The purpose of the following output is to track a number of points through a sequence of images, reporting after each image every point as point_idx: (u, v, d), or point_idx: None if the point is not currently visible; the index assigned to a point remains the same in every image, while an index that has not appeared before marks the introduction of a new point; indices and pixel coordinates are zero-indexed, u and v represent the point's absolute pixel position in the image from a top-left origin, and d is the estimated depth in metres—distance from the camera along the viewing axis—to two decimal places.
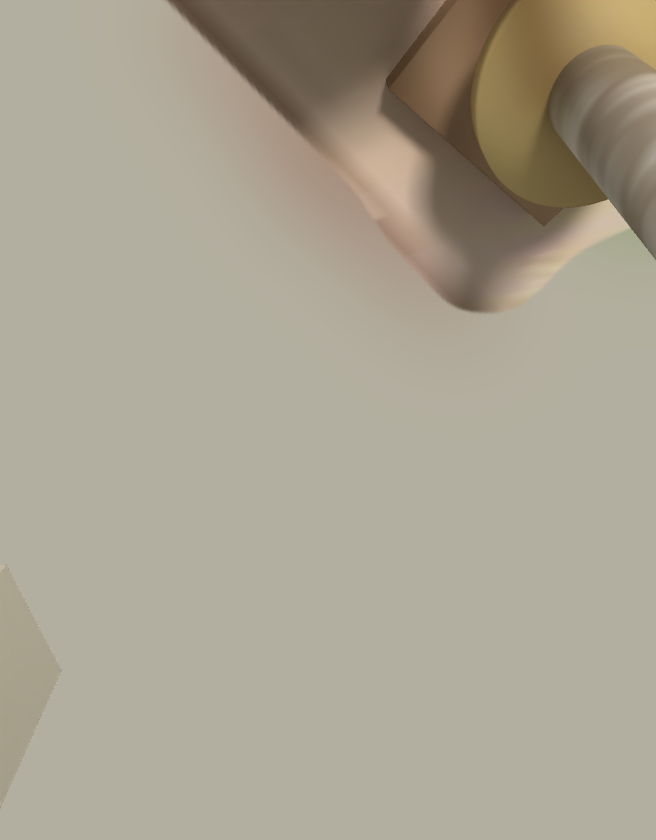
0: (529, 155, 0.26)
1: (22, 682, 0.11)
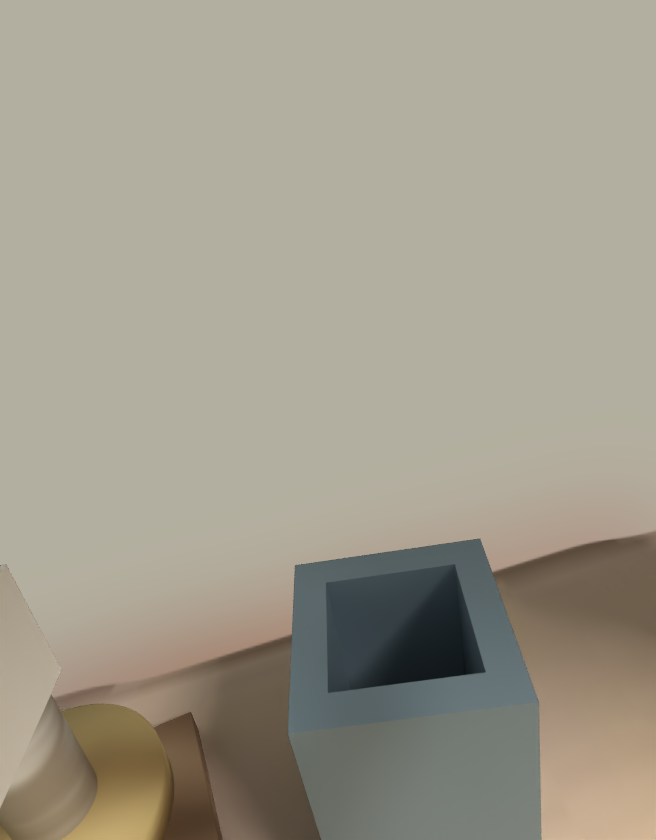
0: None
1: (22, 682, 0.11)
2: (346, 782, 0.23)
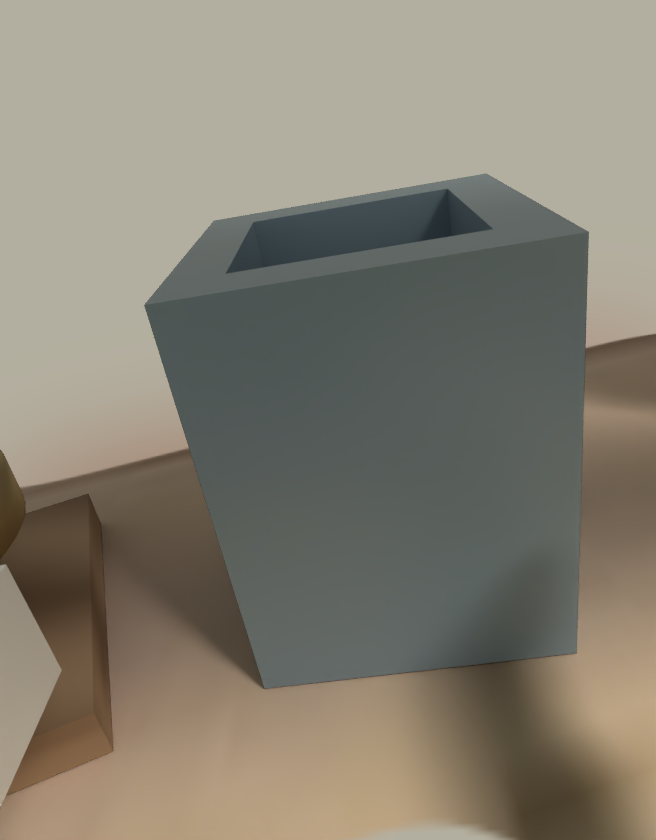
0: None
1: (22, 682, 0.11)
2: (255, 430, 0.13)
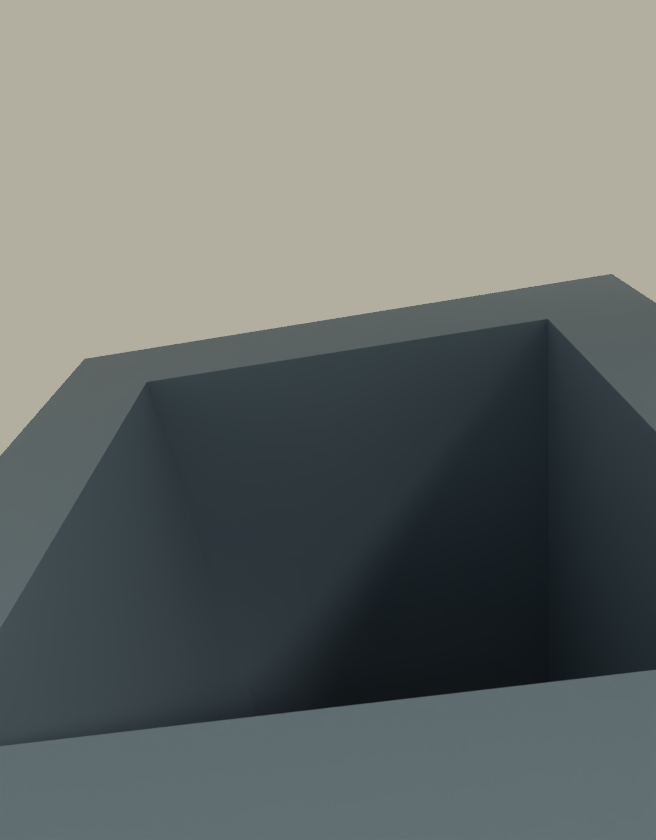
0: None
1: None
2: None
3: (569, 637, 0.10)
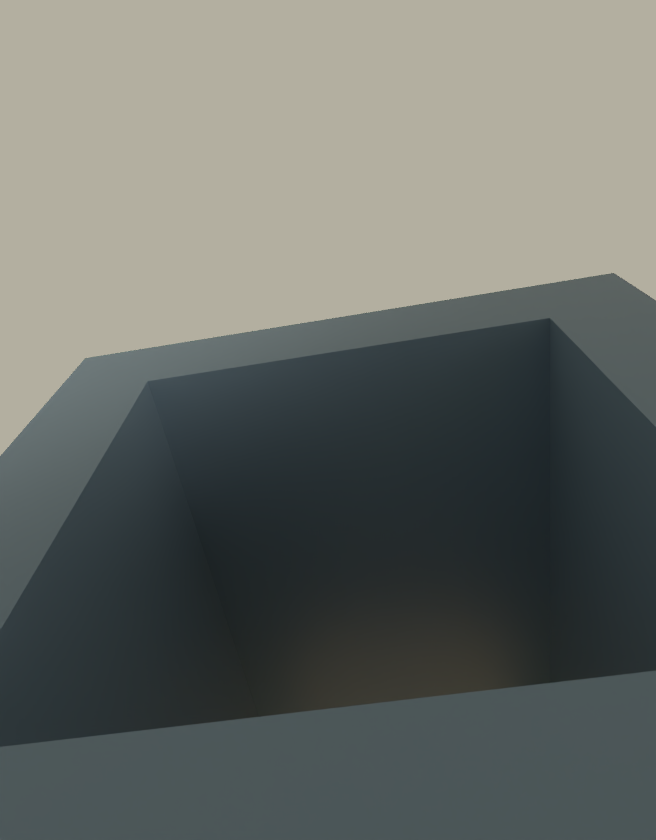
0: None
1: None
2: None
3: (571, 637, 0.10)
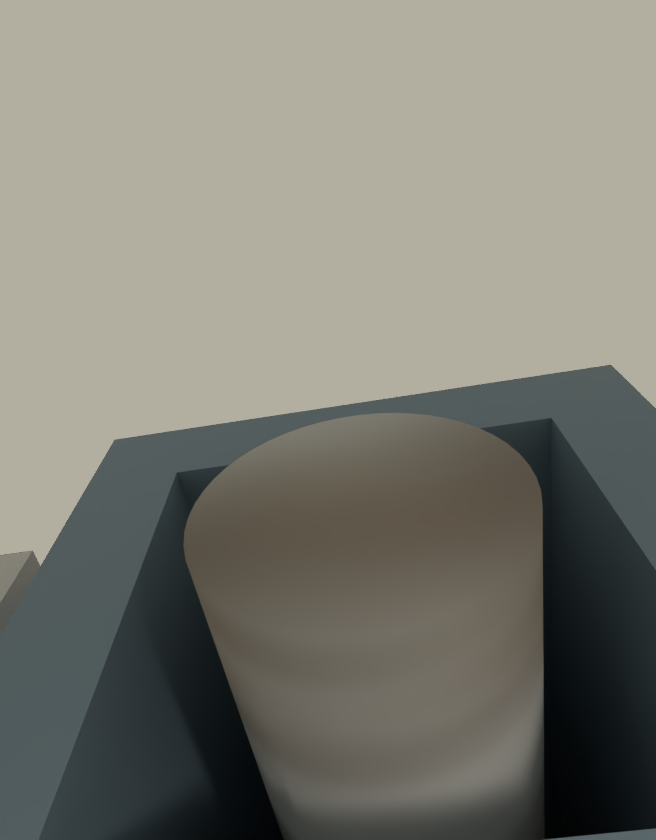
0: None
1: None
2: None
3: (571, 704, 0.10)
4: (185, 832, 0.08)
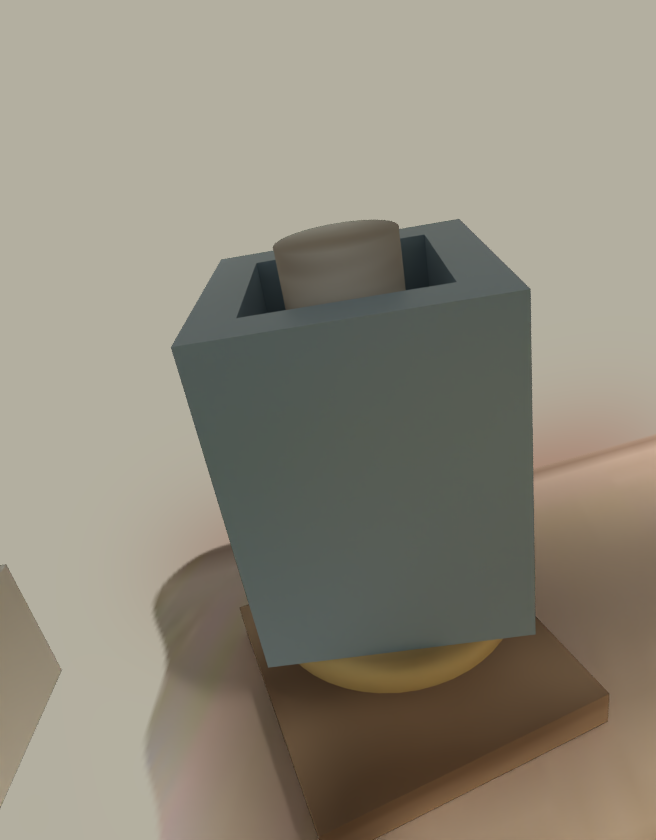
0: None
1: (22, 682, 0.11)
2: (261, 447, 0.16)
3: None
4: None
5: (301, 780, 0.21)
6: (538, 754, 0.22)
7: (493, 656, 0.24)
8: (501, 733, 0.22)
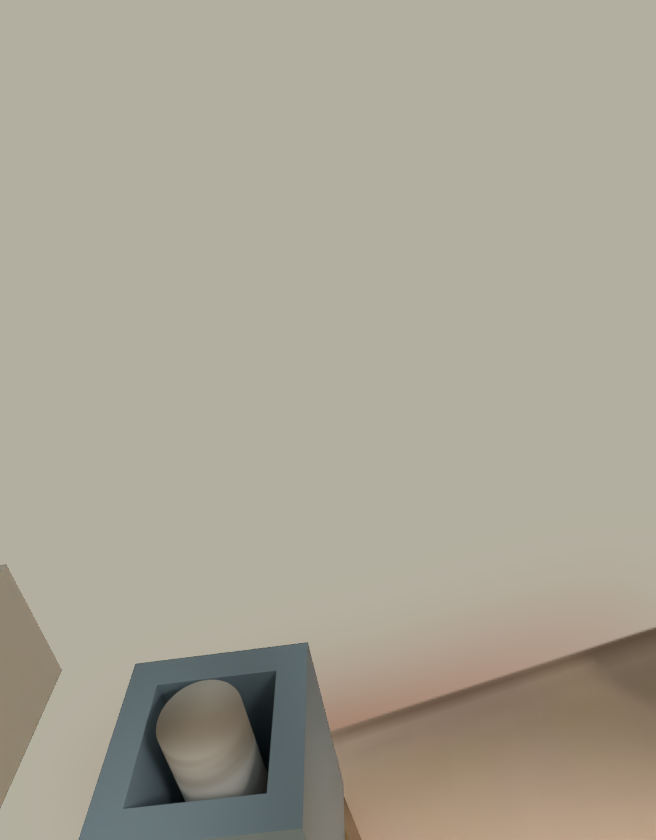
0: None
1: (22, 682, 0.11)
2: None
3: None
4: (158, 801, 0.27)
5: None
6: None
7: None
8: None
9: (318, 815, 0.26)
